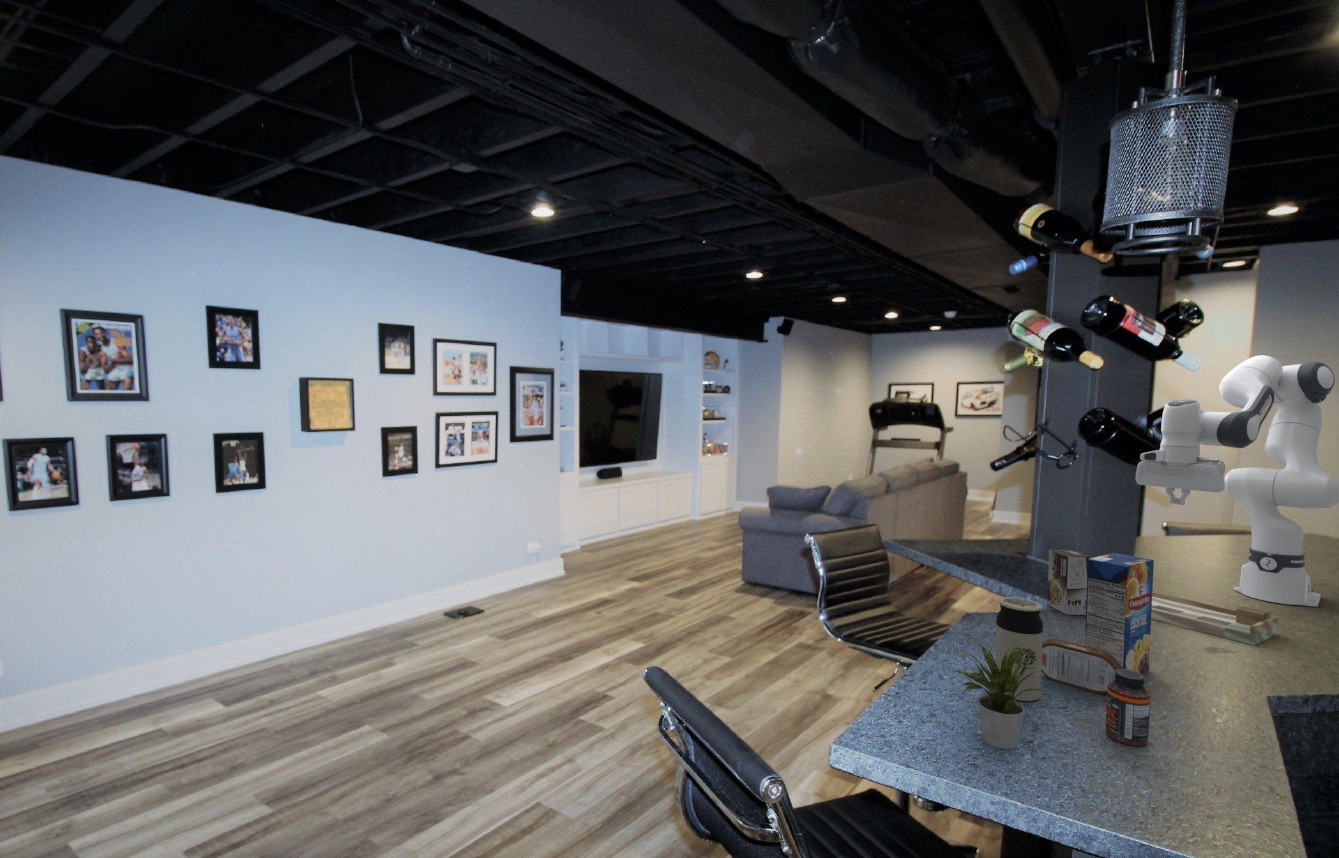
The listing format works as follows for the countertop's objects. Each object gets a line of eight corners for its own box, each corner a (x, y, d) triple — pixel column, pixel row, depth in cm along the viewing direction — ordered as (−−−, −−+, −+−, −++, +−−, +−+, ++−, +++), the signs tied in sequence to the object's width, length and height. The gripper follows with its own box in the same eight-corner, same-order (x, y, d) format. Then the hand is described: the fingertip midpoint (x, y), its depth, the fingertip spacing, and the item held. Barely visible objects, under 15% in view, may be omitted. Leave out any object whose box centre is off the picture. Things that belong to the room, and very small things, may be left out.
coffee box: (1089, 615, 170) (1092, 556, 169) (1065, 614, 170) (1067, 556, 169) (1068, 604, 179) (1071, 548, 178) (1046, 604, 179) (1048, 548, 178)
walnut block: (1244, 618, 161) (1244, 605, 161) (1269, 625, 156) (1270, 611, 156) (1235, 622, 158) (1236, 608, 158) (1261, 628, 154) (1262, 614, 154)
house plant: (969, 708, 116) (972, 621, 116) (1054, 736, 107) (1058, 642, 106) (940, 736, 106) (943, 642, 105) (1032, 770, 96) (1036, 666, 96)
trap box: (1143, 602, 182) (1144, 586, 182) (1277, 634, 157) (1278, 616, 157) (1117, 609, 174) (1118, 594, 174) (1253, 645, 149) (1254, 626, 149)
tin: (1123, 696, 122) (1125, 653, 122) (1120, 701, 120) (1121, 658, 119) (1037, 672, 133) (1038, 633, 132) (1032, 676, 131) (1034, 636, 130)
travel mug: (994, 680, 128) (997, 594, 127) (1039, 689, 124) (1042, 600, 124) (993, 696, 121) (997, 605, 120) (1041, 706, 117) (1045, 611, 117)
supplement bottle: (1097, 727, 110) (1100, 664, 109) (1133, 730, 109) (1136, 666, 109) (1118, 746, 104) (1121, 679, 103) (1157, 748, 103) (1160, 681, 103)
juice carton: (1110, 657, 141) (1114, 552, 140) (1149, 670, 134) (1154, 559, 133) (1083, 669, 134) (1087, 558, 133) (1122, 682, 128) (1127, 566, 127)
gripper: (1230, 458, 171) (1228, 508, 172) (1144, 453, 189) (1142, 498, 190) (1220, 459, 168) (1218, 510, 169) (1134, 454, 186) (1132, 500, 186)
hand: (1177, 504), depth 179 cm, fingers closed
